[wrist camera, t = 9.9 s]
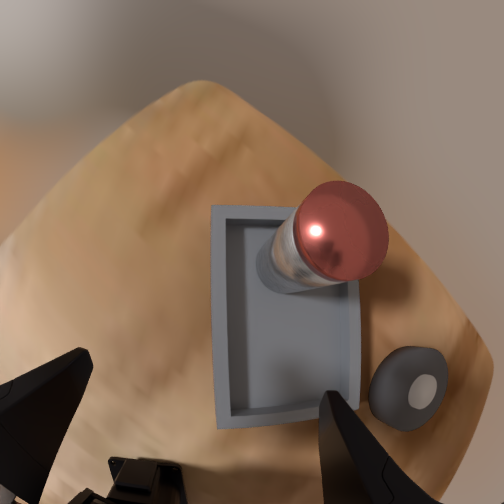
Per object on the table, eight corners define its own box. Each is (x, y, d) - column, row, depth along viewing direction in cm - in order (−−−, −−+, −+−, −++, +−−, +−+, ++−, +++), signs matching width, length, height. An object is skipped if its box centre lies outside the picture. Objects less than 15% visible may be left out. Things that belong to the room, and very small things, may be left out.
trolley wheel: (425, 409, 21) (447, 416, 18) (365, 431, 20) (386, 445, 16) (430, 339, 23) (454, 340, 19) (370, 353, 22) (394, 358, 18)
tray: (345, 400, 20) (358, 408, 18) (215, 416, 19) (217, 429, 16) (338, 220, 24) (351, 211, 21) (210, 216, 22) (211, 204, 19)
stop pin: (298, 303, 20) (374, 296, 11) (246, 278, 20) (283, 251, 11) (319, 251, 22) (396, 210, 12) (269, 226, 21) (319, 164, 12)
